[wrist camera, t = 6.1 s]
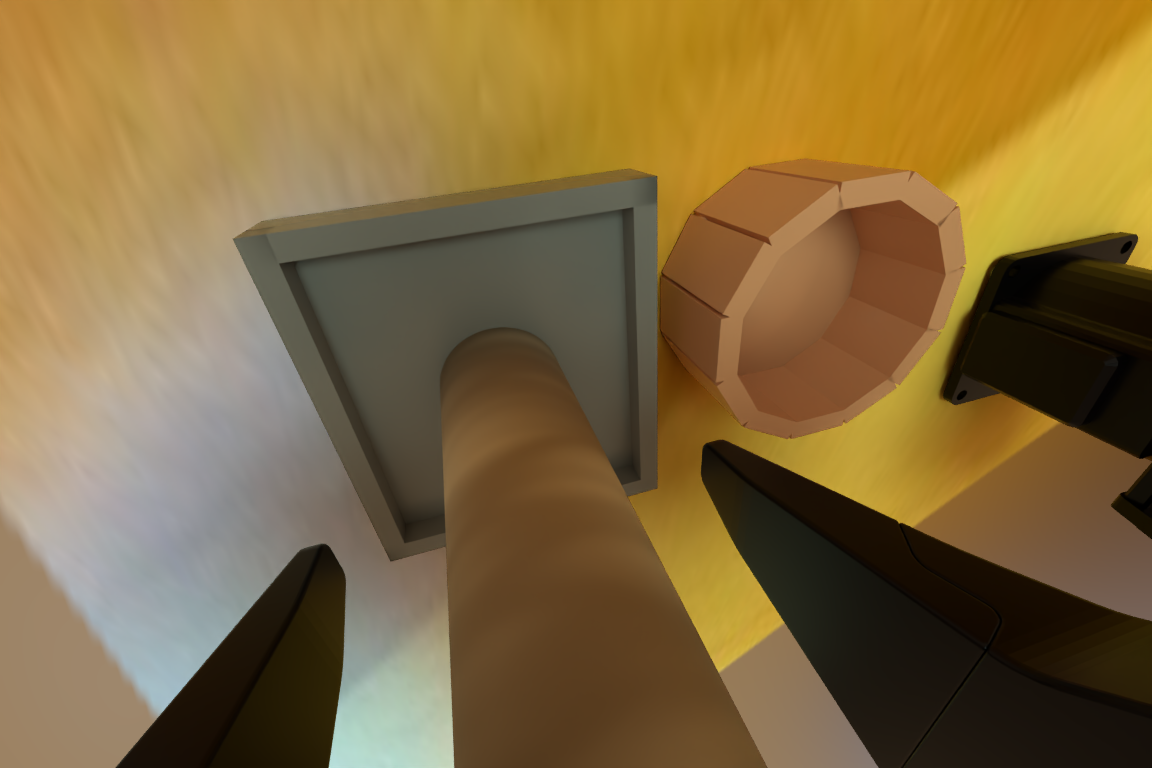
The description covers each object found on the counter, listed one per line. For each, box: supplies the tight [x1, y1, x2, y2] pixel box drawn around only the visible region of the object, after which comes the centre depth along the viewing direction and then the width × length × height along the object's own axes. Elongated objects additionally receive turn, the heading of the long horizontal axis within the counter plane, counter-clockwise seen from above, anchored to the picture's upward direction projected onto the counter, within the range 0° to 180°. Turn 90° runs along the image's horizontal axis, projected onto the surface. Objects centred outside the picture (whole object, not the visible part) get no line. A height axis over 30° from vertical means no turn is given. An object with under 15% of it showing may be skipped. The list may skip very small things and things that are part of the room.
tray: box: [233, 169, 657, 561], centre depth 13 cm, size 9×10×2 cm
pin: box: [440, 327, 767, 768], centre depth 9 cm, size 3×3×10 cm
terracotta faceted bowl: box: [660, 159, 966, 439], centre depth 13 cm, size 7×7×4 cm
